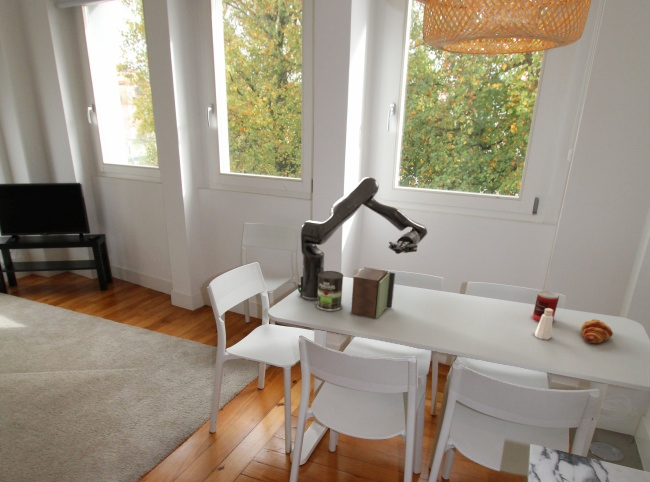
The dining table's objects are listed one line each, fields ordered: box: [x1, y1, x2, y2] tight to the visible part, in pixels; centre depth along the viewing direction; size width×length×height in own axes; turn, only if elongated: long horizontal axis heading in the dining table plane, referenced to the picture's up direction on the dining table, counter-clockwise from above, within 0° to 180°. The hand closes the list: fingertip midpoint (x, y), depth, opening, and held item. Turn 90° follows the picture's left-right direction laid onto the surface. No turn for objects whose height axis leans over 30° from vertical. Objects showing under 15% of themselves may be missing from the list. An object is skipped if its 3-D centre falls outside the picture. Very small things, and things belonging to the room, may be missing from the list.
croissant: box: [580, 319, 614, 344], centre depth 174 cm, size 21×10×8 cm, turn 141°
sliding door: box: [375, 271, 396, 319], centre depth 188 cm, size 3×14×15 cm, turn 155°
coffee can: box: [316, 270, 344, 312], centre depth 194 cm, size 10×10×14 cm
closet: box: [350, 267, 389, 320], centre depth 191 cm, size 10×14×16 cm
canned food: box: [532, 290, 560, 323], centre depth 187 cm, size 8×8×11 cm
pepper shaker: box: [534, 308, 554, 341], centre depth 172 cm, size 5×5×11 cm
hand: (397, 251), depth 192 cm, fingers closed
